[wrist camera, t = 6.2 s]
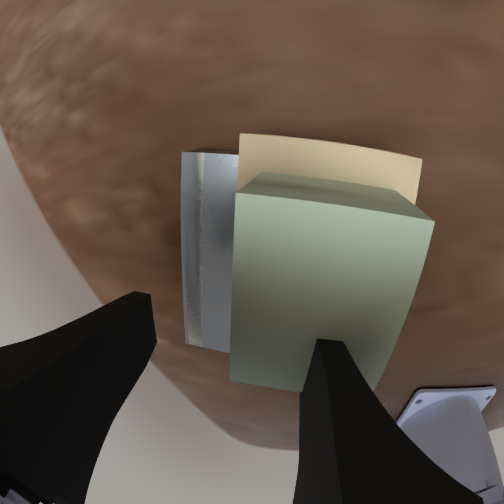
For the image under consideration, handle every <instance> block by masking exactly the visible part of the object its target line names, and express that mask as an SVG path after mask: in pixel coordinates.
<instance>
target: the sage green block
mask: <svg viewBox="0 0 504 504" xmlns="http://www.w3.org/2000/svg"><path fill="white" fill-rule="evenodd" d="M421 166H422V159H420V158H416V157H412V156H409V155H405V154H401V153H396V152H391V151H386V150H381V149H376V148H374V149H373V148H367V147H362V146H356V145H350V144H346V143H340V142H333V141H326V140H318V139H315V140H314V139H305V138H296V137H286V136H281V135H269V134H255V133H252V134H247V133H240V142H239V160H238V178H237V192H236V198H235V219H234V242H233V267H232V295H231V328H230V368H229V380H230V381H235V382H241V383H246V384H251V385H257V386H263V387H269V388H275V389H282V390H289V391H296V392H302V391H303V387H304V384H305V380H306V377H307V373H308V370H309V366H310V363H311V359H312V355H313V351H314V348H315V344H316V340H317V338H320V339H328V340H336V341H343V342H344V344H345V345H346V347H347V349H348V351H349V353H350V354H351V356H352V358H353V360H354V362H355V363H356V365H357V367H358V368H359V370H360V372H361V373H362V375H363V377H364V379H365V380H366V382H367V383H368V385H369V386H370V388H371V389H372V391H373V392H374V390H375V388H376V386H377V384H378V382H379V380H380V378H381V376H382V374H383V372H384V370H385V367H386V365H387V363H388V361H389V358H390V356H391V354H392V351H393V349H394V347H395V344H396V342H397V340H398V337H399V335H400V332H401V330H402V327H403V324H404V322H405V319H406V316H407V314H408V311H409V308H410V305H411V303H412V300H413V297H414V294H415V291H416V288H417V285H418V282H419V278H420V275H421V272H422V269H423V265H424V262H425V258H426V255H427V251H428V247H429V243H430V240H431V236H432V231H433V227H434V223H435V221H434V220H433V219H431V218H430V217H429V216H428V215H426V214H425V213H424V212H423V211H422V210H420V209H419V208H418V207H417V206H415V202H416V197H417V191H418V185H419V179H420V173H421Z"/></svg>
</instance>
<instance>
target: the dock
mask: <svg viewBox="0 0 504 504" xmlns="http://www.w3.org/2000/svg"><path fill="white" fill-rule="evenodd" d="M238 160H239V151H232V150H216V149H194V150H189V151H184V152H182V161H181V262H182V289H183V309H184V325H185V339H186V344H190V345H195V346H199V347H203V348H208V349H212V350H217V351H222V352H226V353H230V328H231V295H232V267H233V242H234V219H235V198H236V192H237V178H238Z"/></svg>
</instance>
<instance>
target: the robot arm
mask: <svg viewBox="0 0 504 504" xmlns="http://www.w3.org/2000/svg"><path fill="white" fill-rule="evenodd" d="M156 343H157V339H156V332H155V326H154V319H153V311H152V304H151V295H150V294H146V293H141V292H136V291H134V292H131V293H129V294H127V295H124V296H122V297H120V298H118V299H116V300H114V301H112V302H110V303H108V304H106V305H104V306H102V307H101V308H98V309H97V310H95V311H93V312H91V313H89V314H87V315H85V316H83V317H81V318H79V319H76V320H74V321H72V322H70V323H68V324H66V325H64V326H61V327H59V328H57V329H55V330H52V331H50V332H47V333H45V334H42V335H40V336H37V337H34V338H31V339H28V340H25V341H22V342H18V343H14V344H11V345H7V346H3V347H0V504H39V503H40V502H41V503H43V504H53V503H54V504H84V503H85V499H86V494H87V490H88V486H89V483H90V479H91V476H92V473H93V470H94V467H95V464H96V461H97V458H98V456H99V453H100V450H101V448H102V445H103V443H104V440H105V438H106V436H107V433H108V431H109V429H110V426H111V424H112V422H113V420H114V418H115V416H116V415H117V413H118V411H119V410H120V408H121V406H122V405H123V403H124V401H125V400H126V398H127V396H128V395H129V393H130V392H131V390H132V389H133V387H134V385H135V384H136V382H137V380H138V379H139V377H140V376H141V374H142V372H143V371H144V369H145V367H146V366H147V363H148V361H149V359H150V357H151V355H152V352H153V350H154V348H155V345H156ZM495 393H496V388H495V386H491V387H477V388H456V389H421V390H418V391H417V392H416V393H415V394H414V396H413V397H412V399H411V401H410V402H409V404H408V405H407V407H406V408H405V410H404V411H403V413H402V414H401V416H400V417H399V419H398V420H397V422H395V421H394V420H393V418H392V417H391V416H390V415H389V413H388V412H387V411H386V409H385V408H384V407H383V405H382V404H381V403H380V401H379V400H378V398H377V397H376V395H375V394H374V392H373V391H372V389H371V388H370V386H369V385H368V383H367V382H366V380H365V379H364V377H363V375H362V373H361V372H360V370H359V368H358V367H357V365H356V363H355V362H354V360H353V358H352V356H351V354H350V353H349V351H348V349H347V347H346V345H345V344H344V342H343V341H336V340H328V339H320V338H317V340H316V344H315V348H314V351H313V355H312V359H311V363H310V366H309V370H308V373H307V377H306V380H305V384H304V387H303V391H302V392H300V429H299V465H298V474H297V480H296V487H295V493H294V499H293V504H504V486H503V483H502V479H501V474H500V471H499V467H498V463H497V459H496V456H495V452H494V449H493V446H492V443H491V439H490V436H489V433H488V430H487V427H486V424H485V422H484V419H483V416H482V413H481V411H482V410H483V409H484V408H485V406H486V405H487V404H488V402H489V401H490V400H491V398H492V397H493V396H494V394H495Z"/></svg>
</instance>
